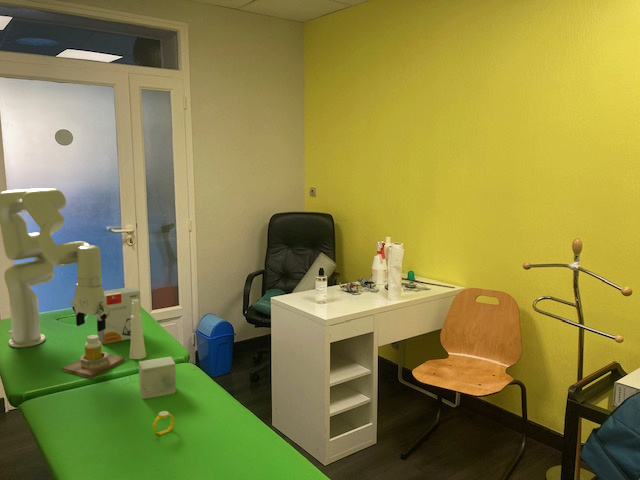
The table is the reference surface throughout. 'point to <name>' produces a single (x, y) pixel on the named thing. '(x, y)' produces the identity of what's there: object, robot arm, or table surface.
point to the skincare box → (157, 377)
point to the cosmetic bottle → (136, 333)
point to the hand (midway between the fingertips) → (91, 327)
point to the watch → (163, 415)
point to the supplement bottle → (93, 348)
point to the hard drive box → (118, 314)
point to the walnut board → (93, 370)
